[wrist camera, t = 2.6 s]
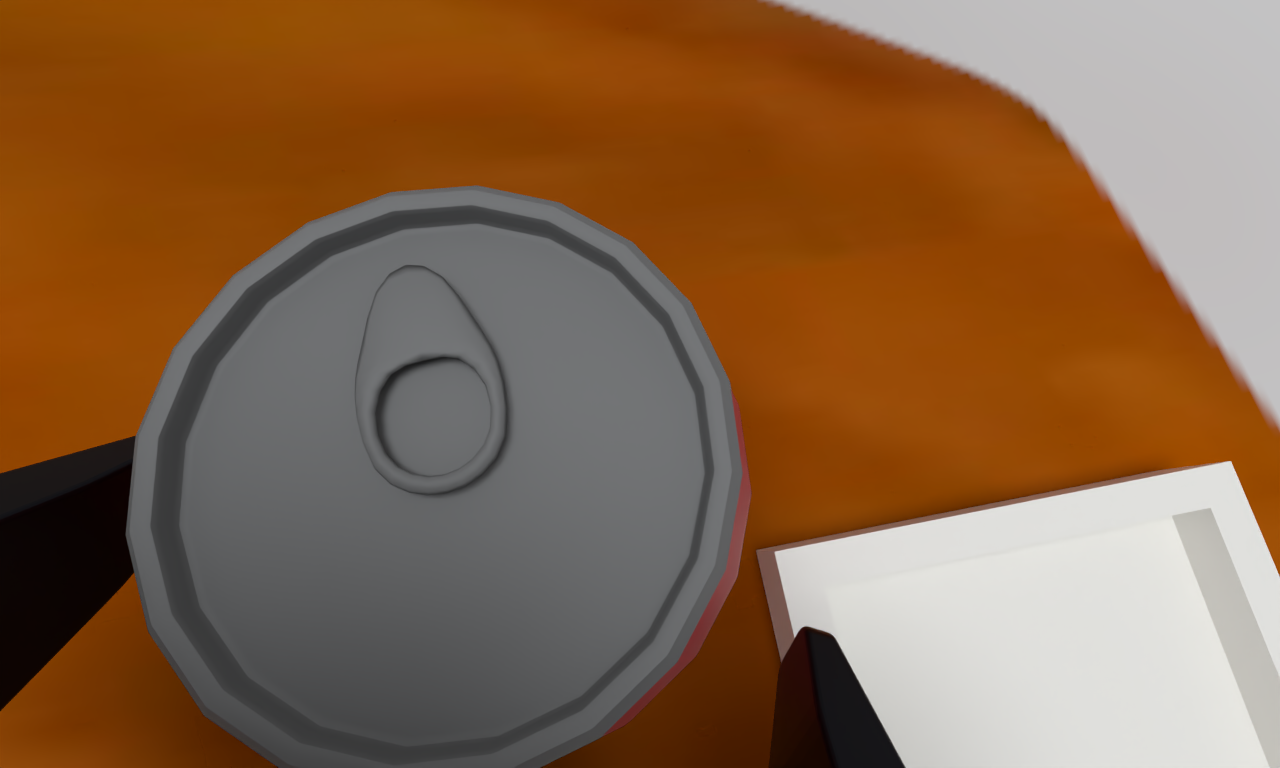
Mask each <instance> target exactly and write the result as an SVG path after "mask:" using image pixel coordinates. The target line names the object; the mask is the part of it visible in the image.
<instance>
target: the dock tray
mask: <svg viewBox="0 0 1280 768" xmlns="http://www.w3.org/2000/svg"><path fill="white" fill-rule="evenodd" d="M756 553H757V557H758V561H759V566H760V570H761V575H762V579H763V584H764V588H765V592H766V597H767V601H768V606H769V610H770V614H771V619H772V623H773V628H774V632H775V637H776V641H777V645H778V650H779V654H780V659H781V663H782V660H783V658H784V656H785V654H786V653H787V651H788V649H789V647H790V646H791V644H792V642H793V640H794V639H795V637H796V635H797V633H798V632H799V630H800V629H801V628H802V627H804V626H809V627H812V628H816V629H819V630H822V631H825V632H828V633H830V634H832V635H833V636H834V637H835V638H836V640H837V642H838V643H839V645H840V647H841V649H842V651H843V653H844V655H845V656H846V658H847V660H848V662H849V664H850V666H851V667H852V669H853V671H854V673H855V675H856V677H857V679H858V680H859V682H860V684H861V686H862V688H863V690H864V691H865V693H866V695H867V697H868V699H869V701H870V703H871V704H872V706H873V708H874V710H875V712H876V714H877V715H878V717H879V719H880V721H881V723H882V725H883V726H884V728H885V730H886V732H887V734H888V736H889V738H890V739H891V741H892V743H893V745H894V747H895V749H896V750H897V752H898V754H899V756H900V758H901V760H902V762H903V763H904V765H905V767H906V768H1280V576H1279V574H1278V572H1277V569H1276V567H1275V565H1274V562H1273V560H1272V557H1271V555H1270V553H1269V550H1268V548H1267V546H1266V543H1265V541H1264V538H1263V536H1262V534H1261V531H1260V529H1259V527H1258V524H1257V522H1256V520H1255V517H1254V515H1253V512H1252V510H1251V508H1250V505H1249V503H1248V501H1247V498H1246V496H1245V493H1244V491H1243V489H1242V486H1241V484H1240V482H1239V479H1238V477H1237V474H1236V472H1235V470H1234V467H1233V465H1232V463H1231V461H1227V462H1219V463H1211V464H1204V465H1196V466H1188V467H1181V468H1173V469H1165V470H1158V471H1153V472H1148V473H1143V474H1138V475H1133V476H1127V477H1122V478H1117V479H1112V480H1107V481H1102V482H1097V483H1092V484H1087V485H1082V486H1077V487H1072V488H1067V489H1062V490H1057V491H1052V492H1047V493H1042V494H1037V495H1032V496H1027V497H1022V498H1016V499H1011V500H1006V501H1001V502H996V503H991V504H986V505H981V506H976V507H971V508H966V509H961V510H956V511H951V512H946V513H941V514H936V515H931V516H926V517H921V518H916V519H911V520H905V521H900V522H895V523H890V524H885V525H880V526H875V527H870V528H865V529H860V530H855V531H850V532H845V533H840V534H835V535H830V536H825V537H820V538H815V539H810V540H805V541H800V542H794V543H789V544H784V545H779V546H774V547H769V548H764V549H759V550H756Z"/></svg>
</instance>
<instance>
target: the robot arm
mask: <svg viewBox="0 0 1280 768" xmlns="http://www.w3.org/2000/svg"><path fill="white" fill-rule="evenodd" d="M135 437H136V436H133V437H130V438H126V439H123V440H119V441H115V442H112V443H108V444H105V445H101V446H97V447H94V448H90V449H87V450H83V451H79V452H76V453H72V454H69V455H65V456H61V457H58V458H54V459H51V460H47V461H43V462H40V463H36V464H33V465H29V466H25V467H22V468H18V469H15V470H11V471H7V472H4V473H0V711H1V710H2V709H3V708H4V707H5V706H6V705H7V704H8V703H9V702H10V701H11V700H12V699H13V698H14V697H15V696H16V695H17V694H18V693H19V692H20V691H21V690H22V688H23V687H24V686H25V685H26V684H27V683H28V682H29V681H30V680H31V679H32V678H33V677H34V676H35V675H36V674H37V673H38V672H39V671H40V670H41V669H42V668H43V667H44V666H45V665H46V664H47V663H48V662H49V661H50V660H51V659H52V658H53V657H54V656H55V655H56V654H57V653H58V652H59V651H60V650H61V649H62V648H63V647H64V646H65V645H66V644H67V643H68V642H69V641H70V639H71V638H72V637H73V636H74V635H75V634H76V633H77V632H78V631H79V630H80V629H81V628H82V627H83V626H84V625H85V624H86V623H87V622H88V621H89V620H90V619H91V618H92V617H93V616H94V615H95V614H96V613H97V612H98V611H99V610H100V609H101V608H102V607H103V606H104V605H105V604H106V603H107V602H108V601H109V600H110V599H111V598H112V596H113V595H114V594H115V593H116V592H117V591H118V590H119V589H120V588H121V587H122V586H123V585H124V584H125V582H126V581H127V580H128V579H129V578H130V577H131V575H132V574H133V573H134V569H133V564H132V560H131V556H130V551H129V547H128V543H127V539H126V526H127V516H128V506H129V496H130V486H131V476H132V466H133V456H134V447H135ZM769 768H906V767H905V765H904V763H903V762H902V760H901V758H900V756H899V754H898V752H897V750H896V749H895V747H894V745H893V743H892V741H891V739H890V738H889V736H888V734H887V732H886V730H885V728H884V726H883V725H882V723H881V721H880V719H879V717H878V715H877V714H876V712H875V710H874V708H873V706H872V704H871V703H870V701H869V699H868V697H867V695H866V693H865V691H864V690H863V688H862V686H861V684H860V682H859V680H858V679H857V677H856V675H855V673H854V671H853V669H852V667H851V666H850V664H849V662H848V660H847V658H846V656H845V655H844V653H843V651H842V649H841V647H840V645H839V643H838V642H837V640H836V638H835V637H834V636H833V635H832V634H830V633H828V632H825V631H822V630H819V629H816V628H812V627H809V626H804V627H802V628H801V629H800V630H799V632H798V633H797V635H796V637H795V639H794V640H793V642H792V644H791V646H790V647H789V649H788V651H787V653H786V654H785V656H784V658H783V660H782V663H781V665H780V669H779V674H778V682H777V692H776V702H775V712H774V722H773V732H772V741H771V751H770V761H769Z"/></svg>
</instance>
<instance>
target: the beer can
mask: <svg viewBox="0 0 1280 768" xmlns="http://www.w3.org/2000/svg"><path fill="white" fill-rule="evenodd" d="M751 494H752V493H751V486H750V479H749V472H748V465H747V458H746V451H745V444H744V437H743V430H742V423H741V416H740V410H739V405H738V403H737V401H736V399H735V397H734V395H733V393H732V391H731V386H730V381H729V379H728V377H727V375H726V373H725V371H724V369H723V367H722V365H721V363H720V361H719V359H718V357H717V355H716V352H715V350H714V348H713V346H712V344H711V342H710V340H709V338H708V336H707V334H706V332H705V330H704V328H703V326H702V324H701V322H700V320H699V318H698V316H697V314H696V312H695V310H694V307H693V305H692V303H691V302H690V301H689V300H688V299H687V298H686V297H685V296H684V295H683V294H682V293H681V292H680V291H679V290H678V289H677V288H676V287H675V286H674V285H673V284H672V283H671V282H670V281H669V279H668V278H667V277H666V276H665V275H664V274H663V273H662V272H661V271H660V270H659V269H658V268H657V267H656V266H655V265H654V264H653V263H652V262H651V261H650V260H649V259H648V258H647V257H646V256H645V255H644V254H643V253H642V252H641V251H640V249H639V248H638V247H637V246H636V245H635V244H634V243H633V242H631V241H629V240H627V239H625V238H624V237H622V236H620V235H618V234H616V233H614V232H613V231H611V230H609V229H607V228H605V227H603V226H601V225H600V224H598V223H596V222H594V221H592V220H590V219H589V218H587V217H585V216H583V215H581V214H579V213H578V212H576V211H574V210H572V209H570V208H568V207H566V206H565V205H563V204H561V203H559V202H554V201H549V200H544V199H539V198H534V197H530V196H525V195H520V194H515V193H510V192H505V191H501V190H496V189H491V188H486V187H481V186H466V187H453V188H440V189H427V190H414V191H402V192H391V193H388V194H385V195H382V196H380V197H377V198H374V199H371V200H369V201H366V202H363V203H360V204H358V205H355V206H352V207H349V208H347V209H344V210H341V211H338V212H336V213H333V214H330V215H327V216H325V217H322V218H319V219H316V220H314V221H311V222H308V223H307V224H305V225H304V226H302V227H301V228H300V229H298V230H297V231H295V232H294V233H292V234H291V235H290V236H288V237H287V238H285V239H284V240H283V241H281V242H280V243H278V244H277V245H275V246H274V247H273V248H271V249H270V250H268V251H267V252H266V253H264V254H263V255H261V256H260V257H258V258H257V259H256V260H254V261H253V262H251V263H250V264H249V265H247V266H246V267H244V268H243V269H241V270H240V271H239V272H237V273H236V274H234V275H233V276H232V277H231V279H230V280H229V281H228V282H227V283H226V285H225V286H224V287H223V288H222V290H221V291H220V292H219V293H218V294H217V296H216V297H215V298H214V299H213V301H212V302H211V303H210V304H209V305H208V307H207V308H206V309H205V310H204V312H203V313H202V314H201V315H200V316H199V318H198V319H197V320H196V321H195V323H194V324H193V325H192V326H191V327H190V329H189V330H188V331H187V332H186V334H185V335H184V336H183V337H182V338H181V340H180V341H179V342H178V343H177V345H176V346H175V347H174V348H173V350H172V353H171V355H170V357H169V360H168V362H167V364H166V367H165V369H164V371H163V374H162V376H161V379H160V381H159V383H158V386H157V388H156V390H155V393H154V395H153V397H152V400H151V402H150V404H149V407H148V409H147V411H146V414H145V416H144V418H143V421H142V423H141V425H140V428H139V430H138V432H137V435H136V437H135V447H134V456H133V466H132V476H131V486H130V496H129V506H128V516H127V526H126V539H127V543H128V547H129V551H130V556H131V560H132V564H133V569H134V573H135V577H136V581H137V586H138V590H139V594H140V598H141V603H142V607H143V611H144V616H145V620H146V624H147V628H148V632H149V633H150V635H151V636H152V638H153V639H154V641H155V642H156V644H157V645H158V647H159V648H160V650H161V651H162V653H163V654H164V656H165V657H166V659H167V660H168V662H169V663H170V665H171V666H172V668H173V669H174V671H175V672H176V674H177V675H178V677H179V679H180V680H181V682H182V683H183V685H184V686H185V688H186V689H187V691H188V692H189V694H190V695H191V697H192V698H193V700H194V701H195V703H196V704H197V706H198V707H199V709H200V710H201V712H202V713H203V715H204V716H206V717H207V718H208V719H210V720H211V721H213V722H214V723H216V724H217V725H218V726H220V727H221V728H223V729H224V730H226V731H227V732H228V733H230V734H231V735H233V736H234V737H236V738H237V739H238V740H240V741H241V742H243V743H244V744H246V745H247V746H248V747H250V748H251V749H253V750H254V751H256V752H257V753H259V754H260V755H261V756H263V757H264V758H266V759H267V760H269V761H270V762H271V763H273V764H274V765H276V766H277V767H279V768H540V767H542V766H544V765H546V764H548V763H550V762H552V761H554V760H556V759H559V758H561V757H563V756H565V755H567V754H569V753H571V752H573V751H575V750H577V749H579V748H581V747H583V746H585V745H587V744H589V743H591V742H593V741H595V740H597V739H599V738H601V737H603V736H605V735H607V734H609V733H611V732H613V731H615V730H617V729H619V728H621V727H623V726H625V725H626V724H627V723H628V722H630V721H631V720H632V719H633V718H634V717H635V716H636V715H637V714H638V713H639V712H640V711H641V710H642V709H643V708H644V707H645V706H646V705H647V704H648V703H649V702H650V701H651V700H652V699H653V698H654V697H655V696H656V695H657V694H658V693H659V692H660V691H661V690H662V689H663V688H664V687H665V686H666V685H667V684H668V683H669V682H671V681H672V680H673V679H674V678H675V677H676V676H677V675H678V674H679V673H680V672H681V671H682V670H683V669H684V668H685V667H686V666H687V665H688V664H689V663H690V662H691V661H692V660H693V659H694V658H695V657H696V656H697V654H698V652H699V650H700V648H701V646H702V644H703V642H704V640H705V639H706V637H707V635H708V633H709V631H710V629H711V627H712V625H713V623H714V621H715V619H716V617H717V615H718V613H719V612H720V610H721V608H722V606H723V604H724V602H725V600H726V598H727V596H728V594H729V592H730V590H731V588H732V586H733V584H734V583H735V581H736V579H737V576H738V570H739V564H740V559H741V553H742V547H743V541H744V535H745V529H746V523H747V517H748V511H749V505H750V500H751Z"/></svg>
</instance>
